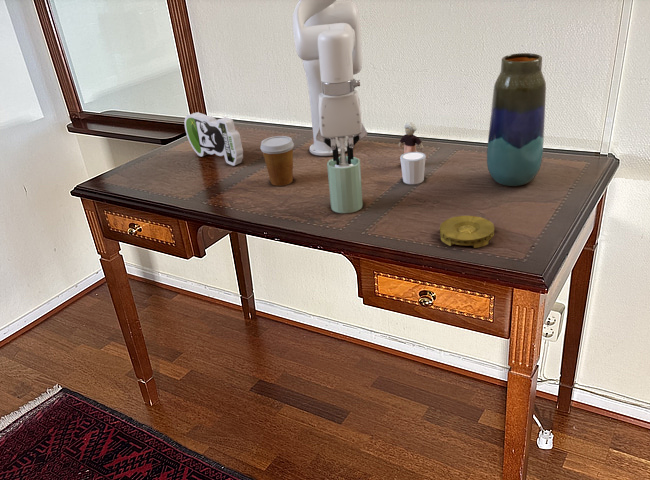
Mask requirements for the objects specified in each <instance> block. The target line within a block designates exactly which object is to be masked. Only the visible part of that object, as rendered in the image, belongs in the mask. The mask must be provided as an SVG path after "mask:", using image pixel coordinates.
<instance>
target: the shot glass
mask: <svg viewBox="0 0 650 480" xmlns="http://www.w3.org/2000/svg"><path fill="white" fill-rule="evenodd" d="M426 157H427V154H426V153H423V152H420V151H416V152H408V153H404V152H403V153H402V154H401V155H400V156H399V159H400V166H401V168H400V169H401V177H402V181H403V183H404V184H407V185H419V184H422V183H423V182H424V179H425V169H426V159H427V158H426Z"/></svg>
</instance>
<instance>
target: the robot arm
mask: <svg viewBox="0 0 650 480" xmlns="http://www.w3.org/2000/svg"><path fill="white" fill-rule="evenodd" d="M291 25H292V32H293V41H294V47H295V52H296V55H297V57H299V59H300V60H302V65H303V70H304V74H305V77H306V82H307V83H306V84H307V90H308V98H309V107H310V109H309V110H310V116H311V117H310V118H311V127H312V137H313V143H312V144H311V145H310V146H309V152H310V153H311V154H312V155H313V156H319V157H330V156H331V157H332V159H333V161H336V165H339V157H340V153H341V149H339V148H338V146H339V145H340V143H339V141H338V137H343V136H345V137H346V139H345V143H344V145H346V146H347V147H346V148H344V149H345V153H346V156H347V157H348V164H351V159H353V157H354V147H355V145H357V143H358V142H359V141H360V140H362V139H363V138H366V137H367V136H368V131H367V130H366V128H365V126H364V123H363V119H362V110H361V102H360V97H359V93H358V90H357V89H356V88H358V87H360V86H361V79H358V80H357V79H356V78H354V75H358V74H359V73H360V72H361V70H362V66H363V50H362V49H363V48H362V46H363V45H362V33H361V31H362V30H361V19H360V12H359V8H358V6H357V4H356V3H355V2H354V1H353V0H298V1H297V3H296V5H295V8H294V10H293V14H292V24H291Z"/></svg>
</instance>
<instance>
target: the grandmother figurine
mask: <svg viewBox="0 0 650 480" xmlns="http://www.w3.org/2000/svg"><path fill="white" fill-rule="evenodd" d="M404 129H405V131H404V132H405V134H404V135H403V136H402V137H401V138H400V139H399V142H398V148H402V147H403V154H404V153H408V152H417V146H418V147H419V149H420V150H423V149H424V145H423V140H422V139H420V138H419V137H418V136H416V135H415V134H414V133H415V132H416V131H417V130H418V128H417V126H416V125H415V124H414V123H413V122H411V121H410V122H406V123H405V124H404ZM403 144H404V145H403ZM416 145H417V146H416Z"/></svg>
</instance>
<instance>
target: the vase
mask: <svg viewBox="0 0 650 480" xmlns="http://www.w3.org/2000/svg"><path fill="white" fill-rule="evenodd" d="M542 67H543V56H542V55H540V54H538V53H530V52H529V53H528V52H521V53H520V52H519V53H512V54H508V55H505V56H503V57H502V58H501V62H500V71H499V74H498V76H497V78H496V80H495V82H494V85H493V92H492V99H491V100H492V101H491V109H490V118H489V128H488V137H487V148H486V166H487V171H488V173H489V175H490V176H491V178H492V179H493V180H494V182H495V183H498V184H500V185H502V186H506V187H507V186H508V187H520V186H525V185H526V184H528V183H530V182H532V181H533V180H534V179H535V177H536V176H537V175H538V173H539V172H540V169H541V167H542V162H543V157H544V156H543V154H544V145H545V144H544V143H545V142H544V141H545V122H546V121H545V120H546V101H547V99H546V98H547V82H546V79H545V76H544V73H543V71H542V70H543V69H542Z"/></svg>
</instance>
